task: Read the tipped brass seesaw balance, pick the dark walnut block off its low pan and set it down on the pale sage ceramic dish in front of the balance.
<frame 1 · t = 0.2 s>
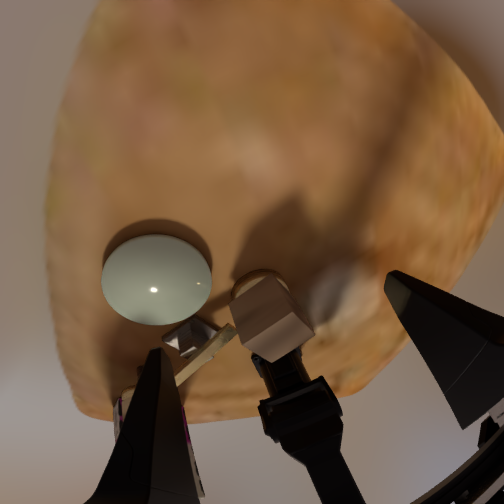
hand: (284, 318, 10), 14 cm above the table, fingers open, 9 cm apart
balance: (193, 335, 30), on the table
walnut block: (263, 301, 27), point 2 cm above the table, touching balance
sage dish: (156, 280, 24), on the table
candy bar box: (148, 407, 38), on the table
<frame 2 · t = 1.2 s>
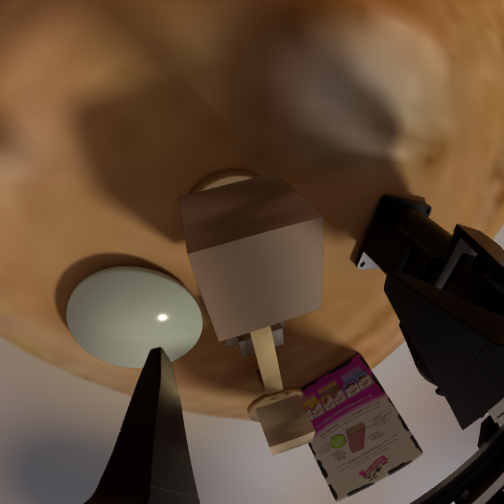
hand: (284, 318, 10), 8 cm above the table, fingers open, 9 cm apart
balance: (250, 315, 22), on the table
walnut block: (236, 226, 15), point 2 cm above the table, touching balance
sage dish: (133, 318, 19), on the table
candy bar box: (327, 378, 34), on the table
oak block: (278, 409, 23), point 5 cm above the table, touching balance
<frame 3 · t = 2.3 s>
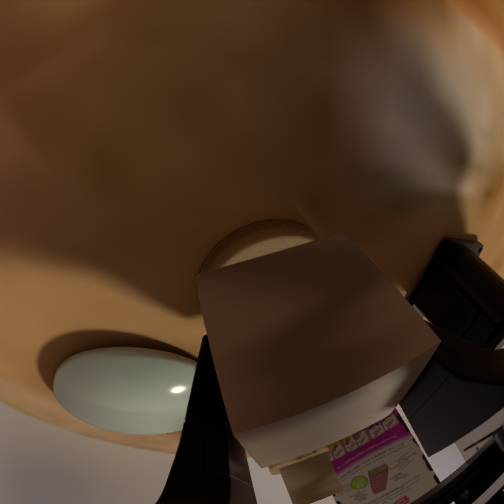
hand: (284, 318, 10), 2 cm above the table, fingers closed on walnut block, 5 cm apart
balance: (278, 379, 17), on the table
walnut block: (278, 306, 10), point 2 cm above the table, touching balance, gripper
sage dish: (136, 392, 14), on the table
candy bar box: (348, 415, 29), on the table
oak block: (302, 463, 18), point 5 cm above the table, touching balance
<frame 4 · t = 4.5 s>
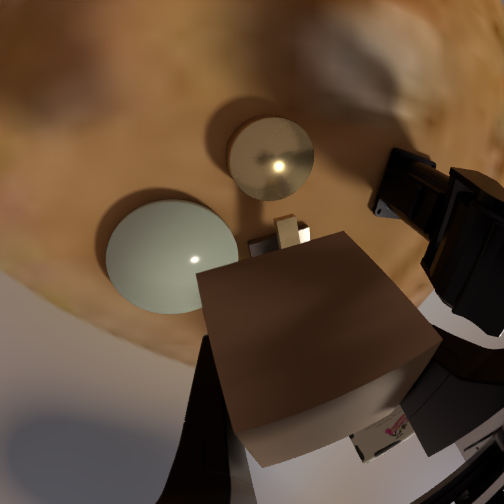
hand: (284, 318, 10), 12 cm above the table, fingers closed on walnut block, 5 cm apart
balance: (280, 257, 24), on the table
walnut block: (279, 305, 10), point 11 cm above the table, touching gripper
sage dish: (171, 258, 21), on the table
candy bar box: (347, 341, 36), on the table
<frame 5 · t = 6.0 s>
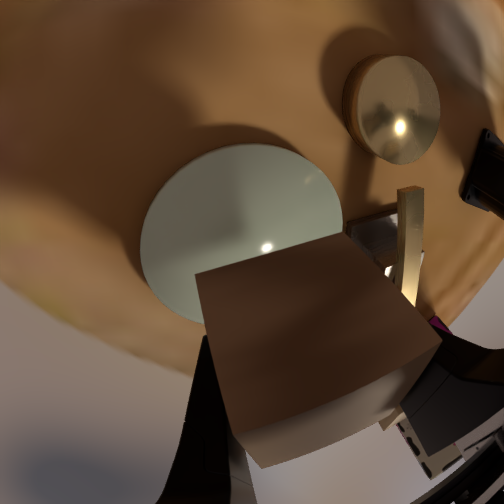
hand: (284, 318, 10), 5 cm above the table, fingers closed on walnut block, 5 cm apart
balance: (376, 246, 17), on the table
walnut block: (279, 305, 10), point 5 cm above the table, touching gripper
sage dish: (243, 241, 14), on the table
candy bar box: (401, 347, 29), on the table
oak block: (387, 372, 19), point 5 cm above the table, touching balance
when the fingers open (3 cm above the table, at t = 6.9 s): walnut block drops 1 cm, resting on sage dish.
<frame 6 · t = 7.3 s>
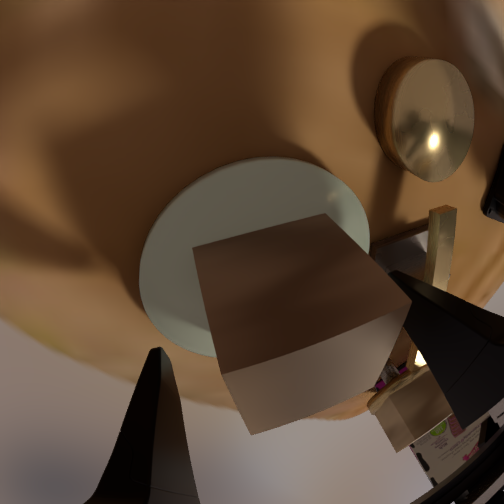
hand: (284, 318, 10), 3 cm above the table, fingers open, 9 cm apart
balance: (398, 266, 15), on the table
walnut block: (268, 281, 11), point 1 cm above the table, touching sage dish
sage dish: (259, 268, 12), on the table
candy bar box: (412, 361, 27), on the table
oak block: (402, 393, 17), point 5 cm above the table, touching balance
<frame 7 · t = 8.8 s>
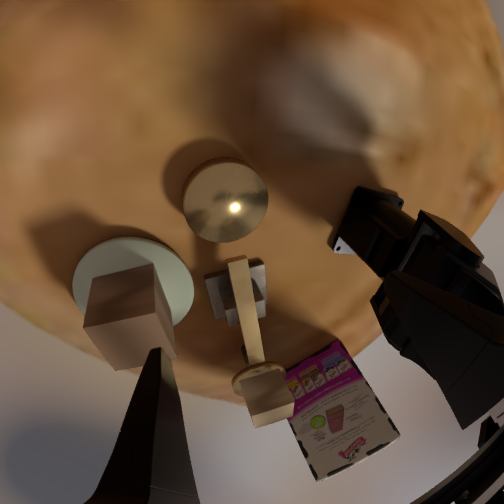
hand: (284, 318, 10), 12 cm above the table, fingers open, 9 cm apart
balance: (237, 290, 25), on the table
walnut block: (132, 295, 20), point 1 cm above the table, touching sage dish
sage dish: (132, 287, 21), on the table
candy bar box: (308, 363, 37), on the table
oak block: (260, 383, 26), point 5 cm above the table, touching balance
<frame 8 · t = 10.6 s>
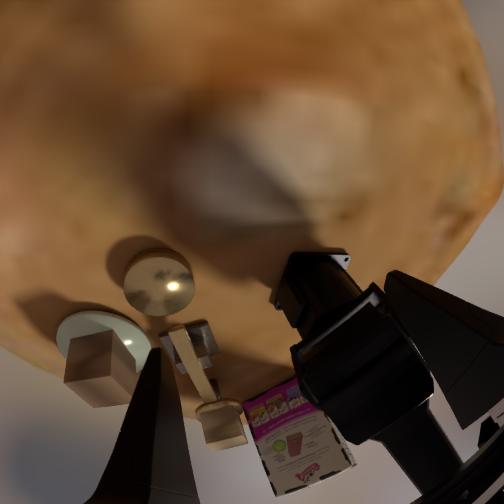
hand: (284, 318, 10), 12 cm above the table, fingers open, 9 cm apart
balance: (190, 342, 27), on the table
walnut block: (103, 350, 23), point 1 cm above the table, touching sage dish
sage dish: (103, 342, 24), on the table
candy bar box: (278, 390, 39), on the table
oak block: (220, 414, 29), point 5 cm above the table, touching balance
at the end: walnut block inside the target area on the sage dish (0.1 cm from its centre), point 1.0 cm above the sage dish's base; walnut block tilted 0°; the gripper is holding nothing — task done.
